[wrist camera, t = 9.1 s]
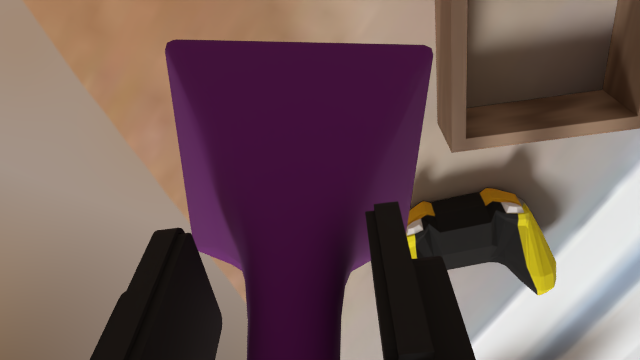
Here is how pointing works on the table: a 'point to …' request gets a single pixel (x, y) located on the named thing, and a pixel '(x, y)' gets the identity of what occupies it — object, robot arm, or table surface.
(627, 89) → the divided wooden tray
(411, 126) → the perfume bottle
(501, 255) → the gaming controller
